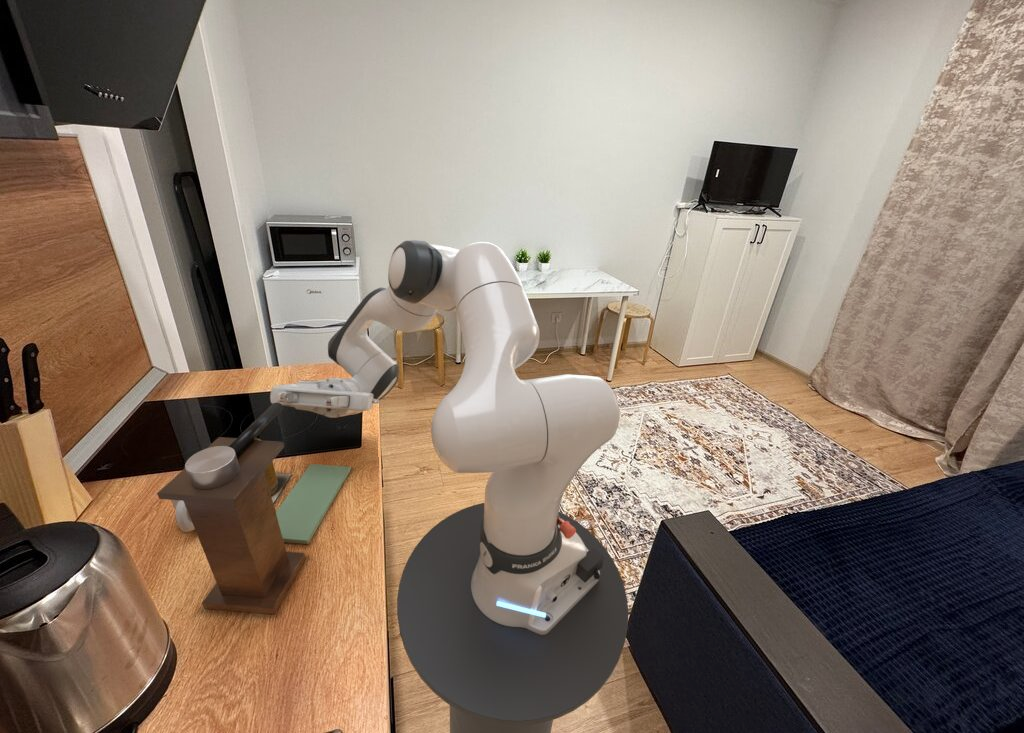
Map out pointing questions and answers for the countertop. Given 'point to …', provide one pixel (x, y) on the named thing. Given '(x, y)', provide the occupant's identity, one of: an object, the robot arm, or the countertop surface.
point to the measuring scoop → (225, 455)
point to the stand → (240, 533)
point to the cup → (182, 516)
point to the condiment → (275, 480)
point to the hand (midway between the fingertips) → (305, 399)
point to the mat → (309, 502)
